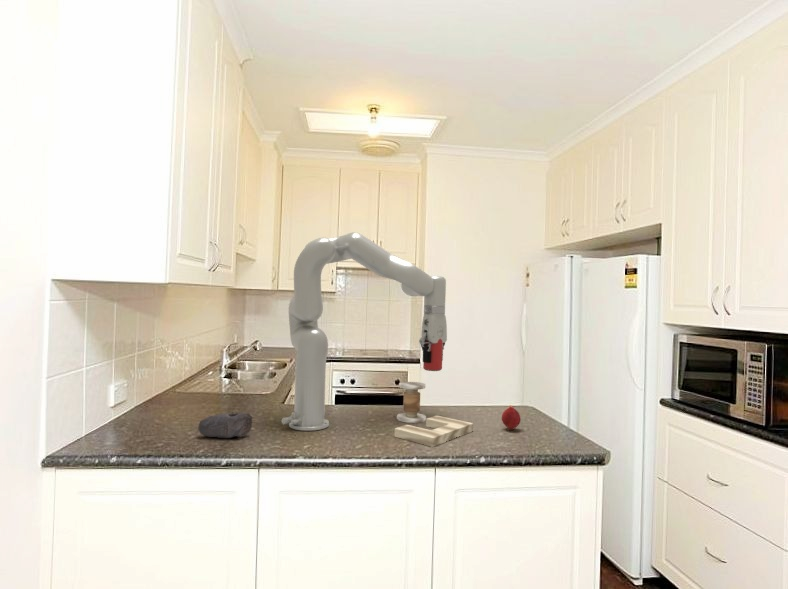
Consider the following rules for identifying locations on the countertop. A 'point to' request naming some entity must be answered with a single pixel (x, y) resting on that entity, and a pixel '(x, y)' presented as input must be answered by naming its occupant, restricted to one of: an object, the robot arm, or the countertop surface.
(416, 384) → the bobbin
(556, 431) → the countertop surface
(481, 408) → the countertop surface
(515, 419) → the onion
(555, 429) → the countertop surface
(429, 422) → the notched board
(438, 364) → the beer can
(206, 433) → the perforated stone tool
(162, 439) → the countertop surface
